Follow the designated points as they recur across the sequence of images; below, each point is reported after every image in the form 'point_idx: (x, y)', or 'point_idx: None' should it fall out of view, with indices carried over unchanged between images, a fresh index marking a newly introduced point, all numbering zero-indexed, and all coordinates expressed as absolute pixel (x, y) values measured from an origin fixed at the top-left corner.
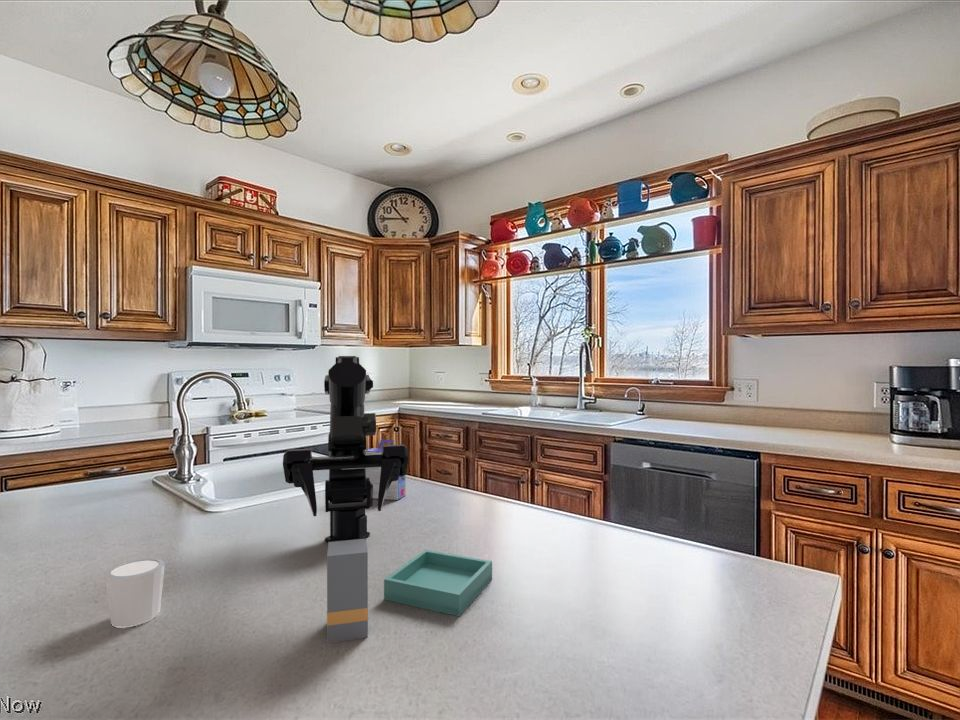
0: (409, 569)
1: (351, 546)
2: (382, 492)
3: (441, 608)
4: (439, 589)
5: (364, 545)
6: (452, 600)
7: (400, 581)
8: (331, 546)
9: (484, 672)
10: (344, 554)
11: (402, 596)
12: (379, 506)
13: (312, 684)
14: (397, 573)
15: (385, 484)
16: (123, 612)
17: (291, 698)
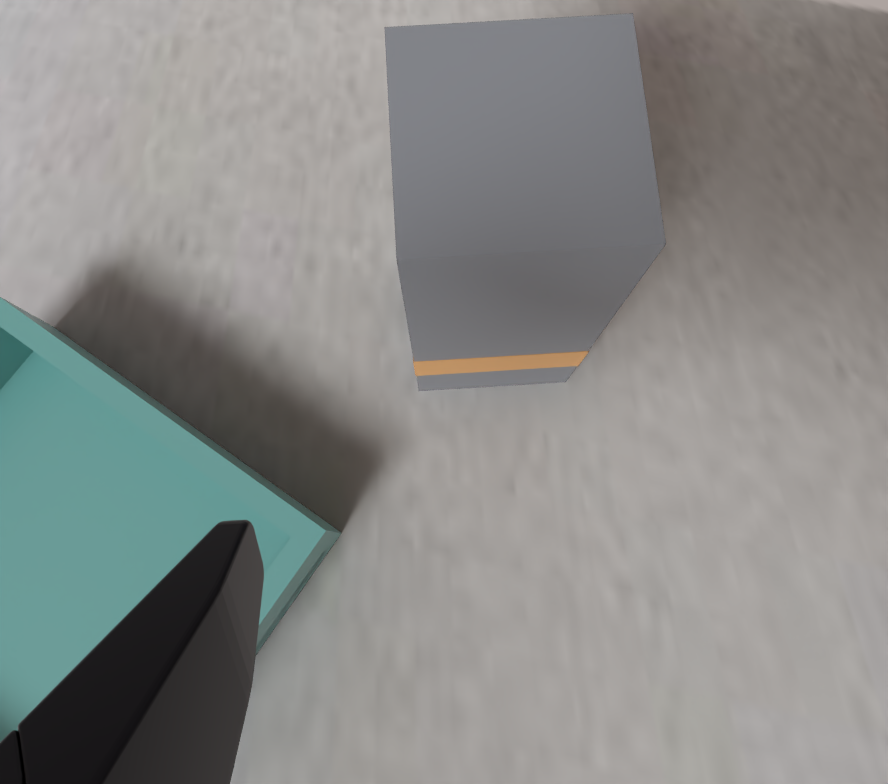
0: None
1: (493, 136)
2: (128, 646)
3: (107, 367)
4: (72, 365)
5: (406, 134)
6: (43, 325)
7: (244, 487)
8: (630, 160)
9: (70, 14)
10: (527, 19)
11: (255, 474)
12: (233, 524)
13: None
14: None
15: (11, 755)
16: None
17: (611, 8)
